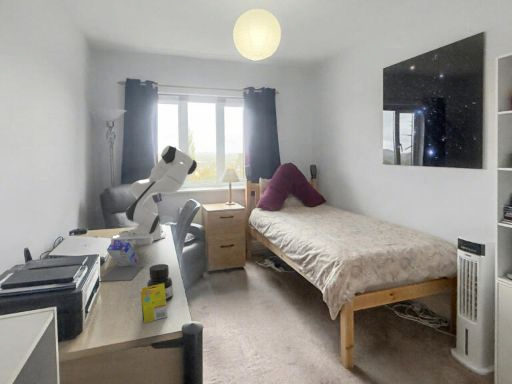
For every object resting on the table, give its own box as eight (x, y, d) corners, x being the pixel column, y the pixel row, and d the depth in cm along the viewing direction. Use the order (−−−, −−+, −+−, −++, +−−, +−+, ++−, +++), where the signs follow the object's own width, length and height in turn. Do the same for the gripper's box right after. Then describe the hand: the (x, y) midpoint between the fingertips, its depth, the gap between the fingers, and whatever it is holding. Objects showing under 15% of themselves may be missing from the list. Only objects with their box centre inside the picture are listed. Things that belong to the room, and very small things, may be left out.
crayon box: (165, 313, 105) (163, 280, 104) (167, 317, 103) (165, 283, 101) (142, 319, 102) (140, 285, 100) (143, 323, 99) (141, 288, 98)
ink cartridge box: (139, 257, 156) (127, 238, 147) (134, 266, 152) (122, 248, 143) (121, 256, 158) (109, 238, 149) (116, 265, 154) (103, 247, 145)
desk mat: (114, 267, 151) (114, 266, 151) (143, 266, 152) (143, 265, 152) (97, 281, 134) (97, 280, 134) (131, 280, 135) (130, 279, 135)
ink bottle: (148, 305, 111) (146, 273, 110) (146, 296, 119) (144, 265, 118) (176, 300, 115) (174, 268, 114) (172, 291, 123) (170, 261, 122)
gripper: (156, 241, 167) (149, 249, 153) (118, 243, 166) (106, 251, 153) (156, 230, 166) (148, 236, 153) (117, 232, 166) (105, 238, 152)
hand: (127, 244), depth 153 cm, fingers closed
